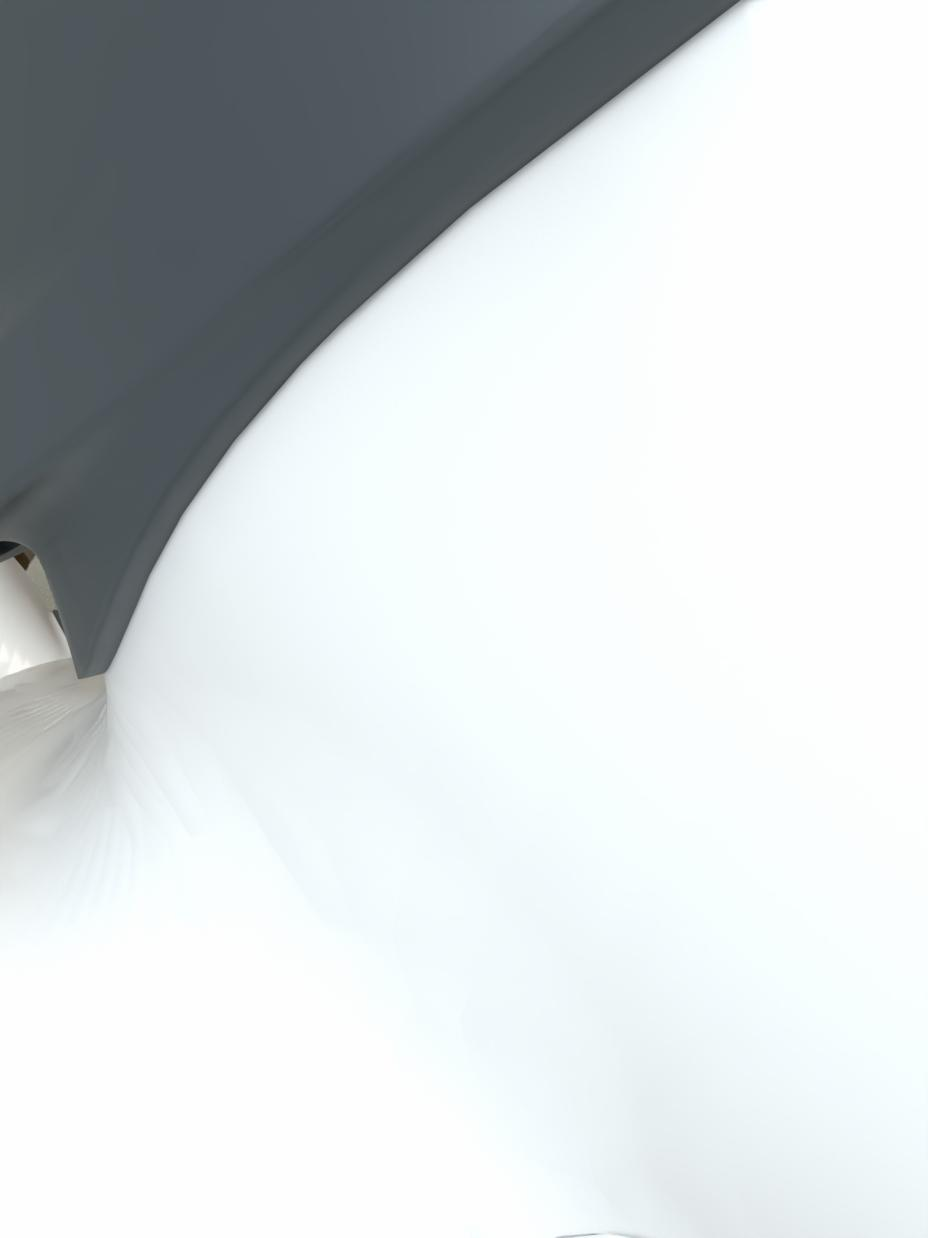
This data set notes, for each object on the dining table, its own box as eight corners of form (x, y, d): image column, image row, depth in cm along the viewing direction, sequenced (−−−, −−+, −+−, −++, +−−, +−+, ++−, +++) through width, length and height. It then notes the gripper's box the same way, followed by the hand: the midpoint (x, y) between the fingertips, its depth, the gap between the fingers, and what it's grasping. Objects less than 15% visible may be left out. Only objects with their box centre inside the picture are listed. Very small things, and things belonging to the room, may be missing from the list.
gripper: (-162, 820, 47) (-37, 914, 58) (216, 765, 48) (270, 866, 59) (-129, 723, 51) (-18, 827, 62) (220, 674, 52) (269, 785, 63)
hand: (125, 846), depth 60 cm, fingers closed on stick, 3 cm apart
